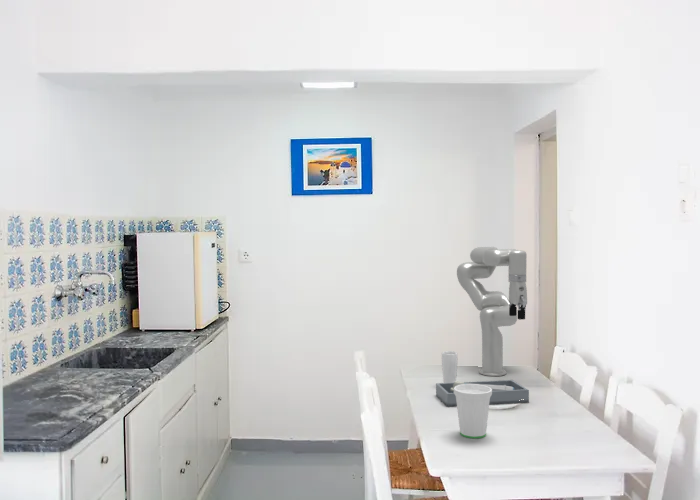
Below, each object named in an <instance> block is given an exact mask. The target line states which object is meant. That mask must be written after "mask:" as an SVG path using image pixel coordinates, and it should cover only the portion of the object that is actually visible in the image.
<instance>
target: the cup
mask: <svg viewBox="0 0 700 500" xmlns="http://www.w3.org/2000/svg"><path fill="white" fill-rule="evenodd" d="M454 394H455V396H456V402H457V406H456V409H457V417H458V426H459V427H458V428H459V434H460V435H461V436H462V437H464V438H467V439H482V438H484V437H486V436H487V429H488V428H487V427H488V418H489V409H490V405H489V401H490V397H491V395H492V389H491V388H490V387H487V386H484V385H479V384H462V385H458V386H455V387H454Z"/></svg>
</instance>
